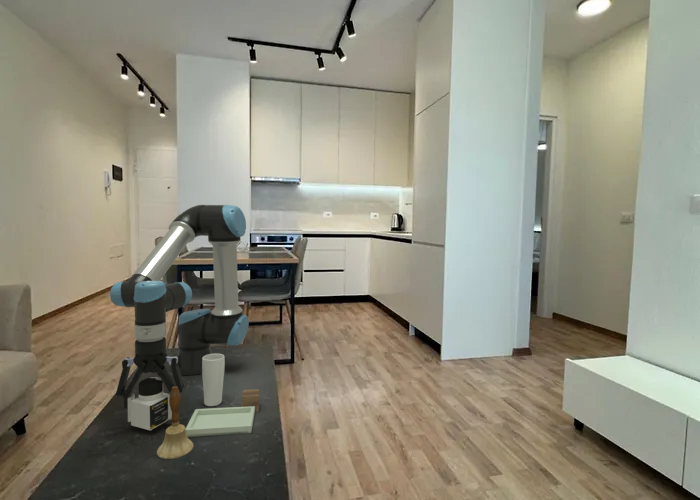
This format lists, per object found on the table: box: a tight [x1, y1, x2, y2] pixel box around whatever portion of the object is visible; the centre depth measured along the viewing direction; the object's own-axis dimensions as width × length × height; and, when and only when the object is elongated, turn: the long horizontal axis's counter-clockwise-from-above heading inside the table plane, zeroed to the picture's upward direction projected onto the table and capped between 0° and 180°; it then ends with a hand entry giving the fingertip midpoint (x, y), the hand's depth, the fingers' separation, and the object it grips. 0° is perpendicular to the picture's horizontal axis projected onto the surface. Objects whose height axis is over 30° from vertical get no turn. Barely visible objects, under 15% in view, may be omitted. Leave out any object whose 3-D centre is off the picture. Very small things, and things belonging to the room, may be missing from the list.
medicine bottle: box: [130, 376, 170, 431], centre depth 104 cm, size 7×7×12 cm
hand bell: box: [156, 386, 194, 460], centre depth 94 cm, size 8×8×16 cm
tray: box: [185, 406, 256, 438], centre depth 107 cm, size 12×17×2 cm
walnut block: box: [240, 388, 261, 413], centre depth 117 cm, size 5×5×5 cm
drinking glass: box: [201, 353, 226, 407], centre depth 120 cm, size 7×7×15 cm
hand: (151, 418), depth 105 cm, fingers closed on medicine bottle, 9 cm apart
